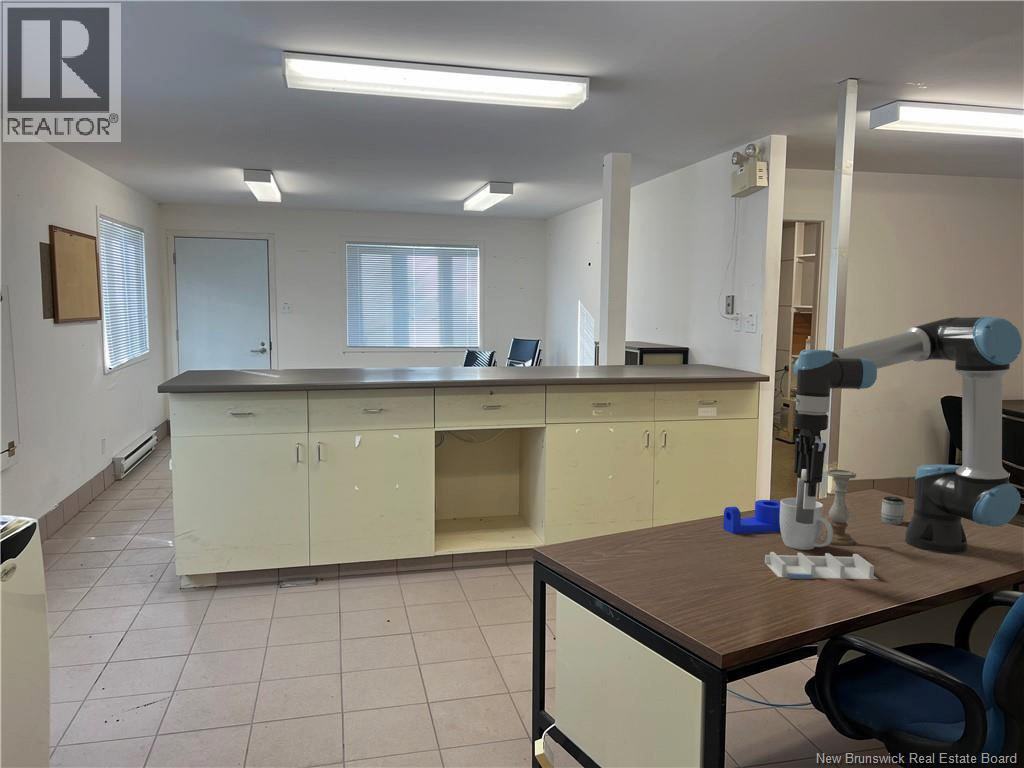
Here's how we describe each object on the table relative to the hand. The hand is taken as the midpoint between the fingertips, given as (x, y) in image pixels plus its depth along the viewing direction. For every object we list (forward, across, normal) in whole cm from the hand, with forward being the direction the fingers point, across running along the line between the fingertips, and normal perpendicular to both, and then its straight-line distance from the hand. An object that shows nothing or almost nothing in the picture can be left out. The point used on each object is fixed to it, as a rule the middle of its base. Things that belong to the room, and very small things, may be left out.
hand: (805, 506), depth 171 cm
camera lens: (+17, -48, +47) cm, 69 cm away
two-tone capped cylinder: (+4, 0, 0) cm, 4 cm away
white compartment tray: (+17, 0, +5) cm, 18 cm away
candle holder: (+17, -27, +21) cm, 38 cm away
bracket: (+18, -38, +1) cm, 42 cm away
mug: (+18, -19, +8) cm, 27 cm away
